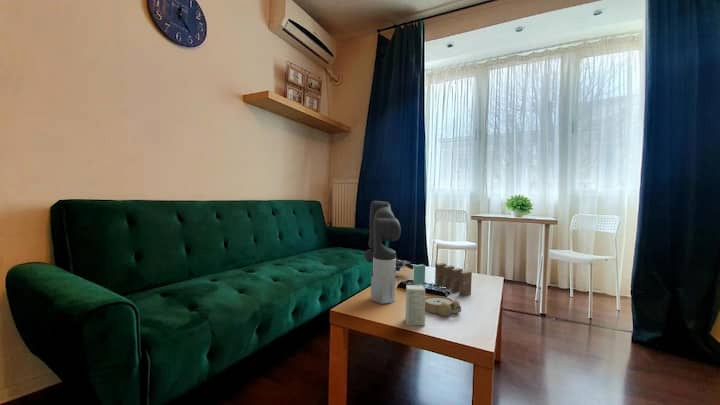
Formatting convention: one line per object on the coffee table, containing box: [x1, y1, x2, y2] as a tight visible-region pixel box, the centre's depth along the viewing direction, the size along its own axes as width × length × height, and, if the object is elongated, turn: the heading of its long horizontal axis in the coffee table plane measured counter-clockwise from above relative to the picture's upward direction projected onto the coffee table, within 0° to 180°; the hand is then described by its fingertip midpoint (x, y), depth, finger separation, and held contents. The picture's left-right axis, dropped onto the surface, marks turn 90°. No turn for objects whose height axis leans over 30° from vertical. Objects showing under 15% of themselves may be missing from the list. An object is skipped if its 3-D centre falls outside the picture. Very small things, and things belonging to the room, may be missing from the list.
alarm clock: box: [425, 295, 462, 318], centre depth 106 cm, size 11×5×15 cm
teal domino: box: [413, 264, 426, 285], centre depth 133 cm, size 2×5×10 cm, turn 118°
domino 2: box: [442, 264, 455, 289], centre depth 132 cm, size 2×5×10 cm, turn 118°
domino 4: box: [458, 270, 473, 297], centre depth 123 cm, size 2×5×10 cm, turn 118°
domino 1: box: [434, 262, 447, 286], centre depth 137 cm, size 2×5×10 cm, turn 118°
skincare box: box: [405, 284, 426, 326], centre depth 95 cm, size 6×4×12 cm
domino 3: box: [450, 267, 464, 293], centre depth 128 cm, size 2×5×10 cm, turn 118°
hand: (406, 268), depth 142 cm, fingers open, 8 cm apart
